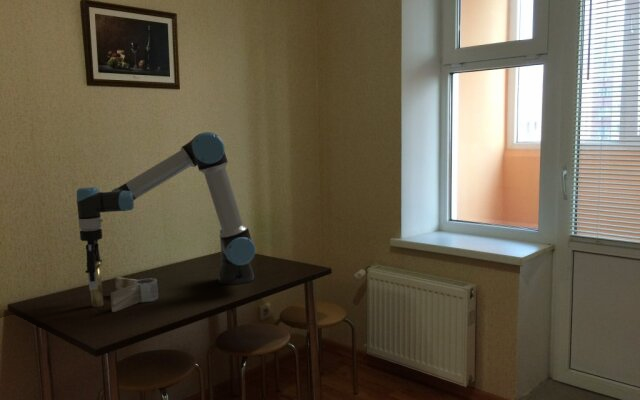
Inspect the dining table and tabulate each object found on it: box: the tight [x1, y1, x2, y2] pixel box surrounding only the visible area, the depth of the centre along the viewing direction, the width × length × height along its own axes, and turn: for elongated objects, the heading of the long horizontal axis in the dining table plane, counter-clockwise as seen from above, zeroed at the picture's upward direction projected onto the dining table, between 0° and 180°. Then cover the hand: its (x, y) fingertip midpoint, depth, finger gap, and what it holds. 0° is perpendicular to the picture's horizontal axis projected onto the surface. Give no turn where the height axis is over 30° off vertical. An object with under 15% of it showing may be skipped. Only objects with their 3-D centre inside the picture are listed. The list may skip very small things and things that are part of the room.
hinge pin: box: [85, 261, 104, 308], centre depth 197 cm, size 5×5×17 cm
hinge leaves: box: [110, 276, 141, 313], centre depth 200 cm, size 17×17×7 cm
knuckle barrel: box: [134, 277, 159, 303], centre depth 203 cm, size 8×8×7 cm
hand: (95, 284), depth 197 cm, fingers open, 13 cm apart
